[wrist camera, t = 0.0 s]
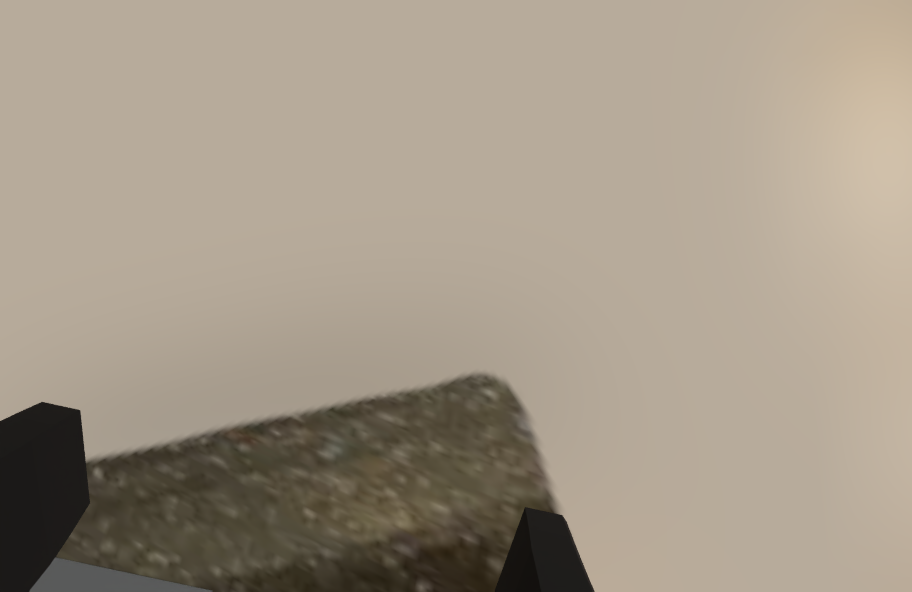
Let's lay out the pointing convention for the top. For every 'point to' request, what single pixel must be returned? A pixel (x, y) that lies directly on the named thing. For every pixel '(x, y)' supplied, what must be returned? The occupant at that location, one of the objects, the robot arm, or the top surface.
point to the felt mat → (100, 580)
